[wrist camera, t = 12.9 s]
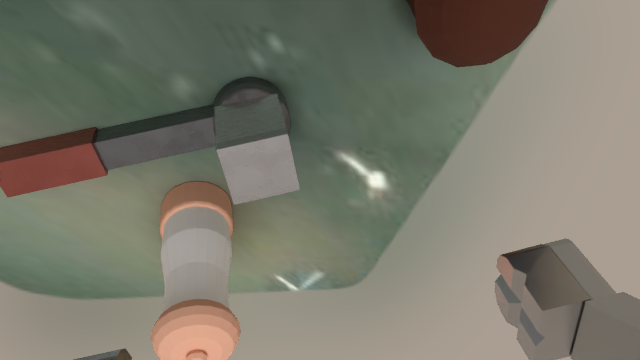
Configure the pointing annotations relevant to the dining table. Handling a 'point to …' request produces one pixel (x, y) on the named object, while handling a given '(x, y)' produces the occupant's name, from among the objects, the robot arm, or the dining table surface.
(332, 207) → the dining table surface
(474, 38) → the muffin
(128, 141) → the ratchet
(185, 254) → the pepper shaker
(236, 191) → the light grey cube
